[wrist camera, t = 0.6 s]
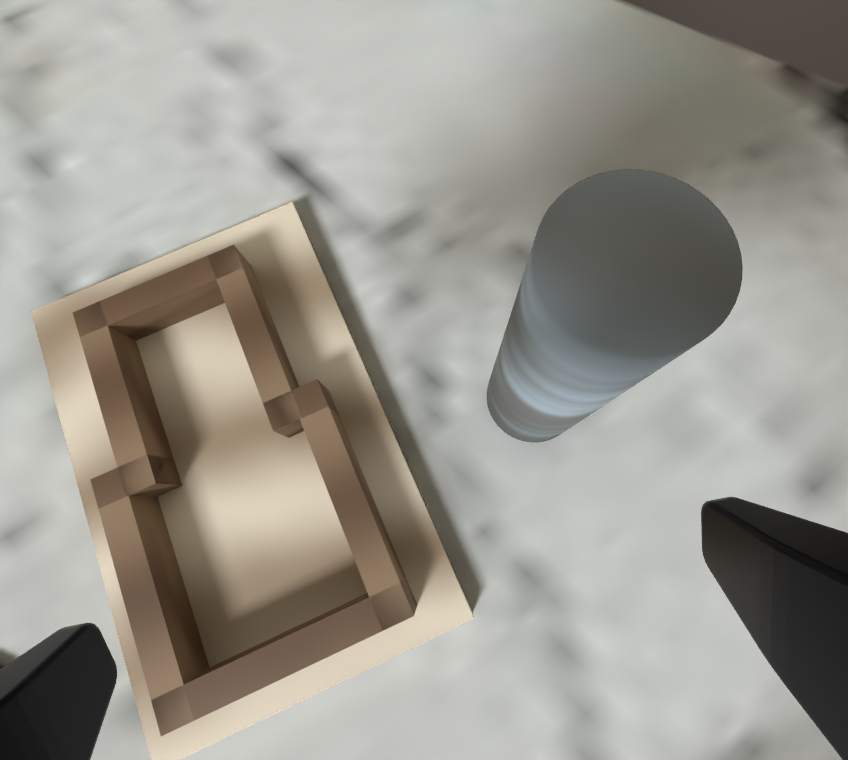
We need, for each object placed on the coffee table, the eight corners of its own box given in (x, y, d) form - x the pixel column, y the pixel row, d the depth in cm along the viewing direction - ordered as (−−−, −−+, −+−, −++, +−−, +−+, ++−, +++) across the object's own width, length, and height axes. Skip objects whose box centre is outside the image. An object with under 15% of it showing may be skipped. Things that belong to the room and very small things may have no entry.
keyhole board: (472, 613, 21) (476, 630, 18) (169, 759, 20) (121, 801, 17) (298, 213, 25) (278, 175, 23) (47, 318, 25) (-6, 294, 22)
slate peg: (569, 451, 22) (731, 377, 9) (478, 430, 22) (515, 331, 10) (585, 364, 23) (751, 188, 10) (496, 344, 23) (553, 154, 11)
